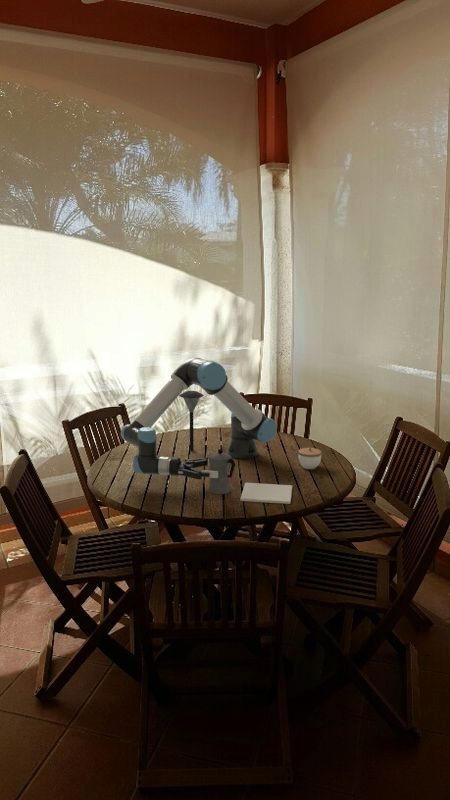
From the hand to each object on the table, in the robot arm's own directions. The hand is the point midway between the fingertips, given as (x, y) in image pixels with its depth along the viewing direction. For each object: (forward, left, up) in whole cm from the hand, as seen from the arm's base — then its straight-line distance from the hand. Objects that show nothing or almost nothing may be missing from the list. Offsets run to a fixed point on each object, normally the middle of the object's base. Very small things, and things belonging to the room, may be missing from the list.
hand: (220, 469), depth 257 cm
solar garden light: (-53, -23, -10) cm, 59 cm away
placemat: (0, +19, -10) cm, 22 cm away
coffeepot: (0, 0, -10) cm, 10 cm away
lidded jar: (-37, +36, -10) cm, 53 cm away
